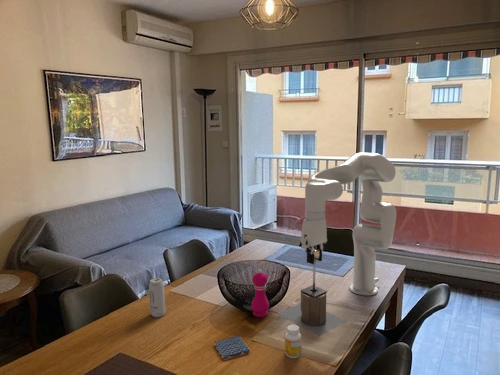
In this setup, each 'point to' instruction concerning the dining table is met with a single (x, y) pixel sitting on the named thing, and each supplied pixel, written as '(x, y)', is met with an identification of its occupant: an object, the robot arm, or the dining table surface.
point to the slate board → (295, 316)
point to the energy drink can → (157, 297)
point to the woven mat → (232, 347)
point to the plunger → (316, 256)
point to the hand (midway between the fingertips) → (314, 261)
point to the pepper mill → (260, 295)
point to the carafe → (313, 306)
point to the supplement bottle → (293, 341)
